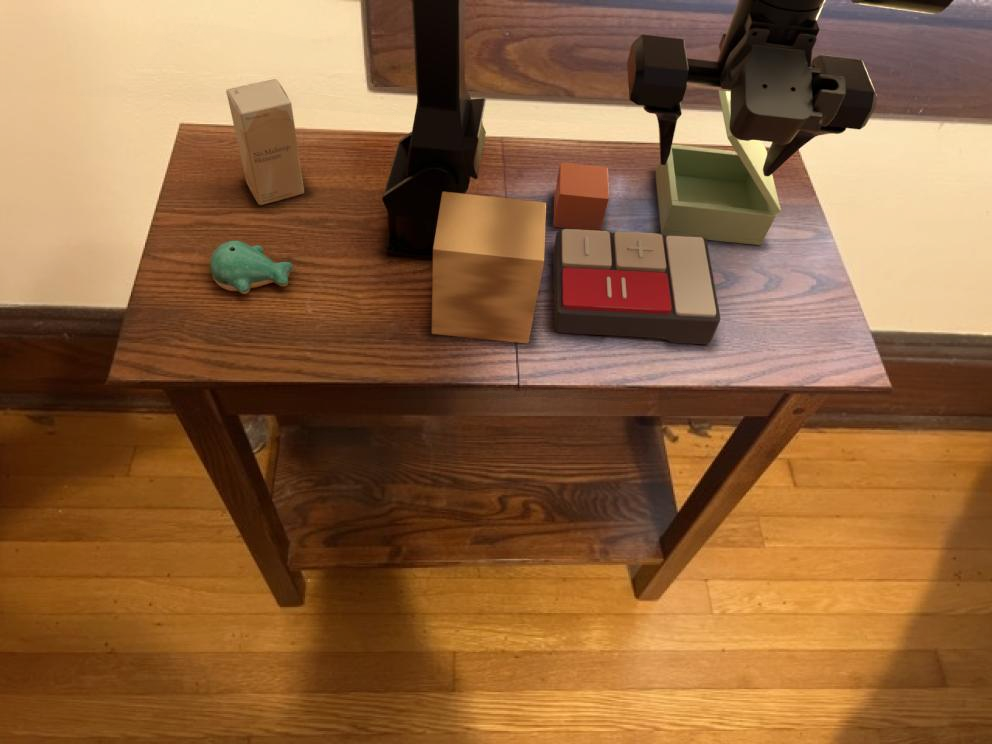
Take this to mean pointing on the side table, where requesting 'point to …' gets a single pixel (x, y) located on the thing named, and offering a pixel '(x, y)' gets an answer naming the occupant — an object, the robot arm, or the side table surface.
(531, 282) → the stand
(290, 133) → the box
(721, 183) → the chest
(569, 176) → the block
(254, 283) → the whale figurine
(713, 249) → the side table surface
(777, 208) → the lid
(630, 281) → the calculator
